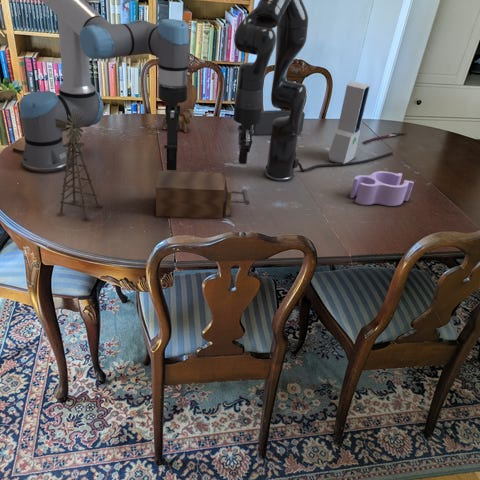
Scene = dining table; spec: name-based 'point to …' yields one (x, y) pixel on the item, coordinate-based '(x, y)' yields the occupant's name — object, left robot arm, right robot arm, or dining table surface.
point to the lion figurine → (182, 119)
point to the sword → (383, 137)
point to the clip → (381, 189)
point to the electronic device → (349, 123)
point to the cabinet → (189, 194)
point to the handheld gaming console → (267, 119)
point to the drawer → (228, 196)
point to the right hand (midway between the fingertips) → (242, 162)
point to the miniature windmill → (73, 142)
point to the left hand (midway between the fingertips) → (172, 159)
